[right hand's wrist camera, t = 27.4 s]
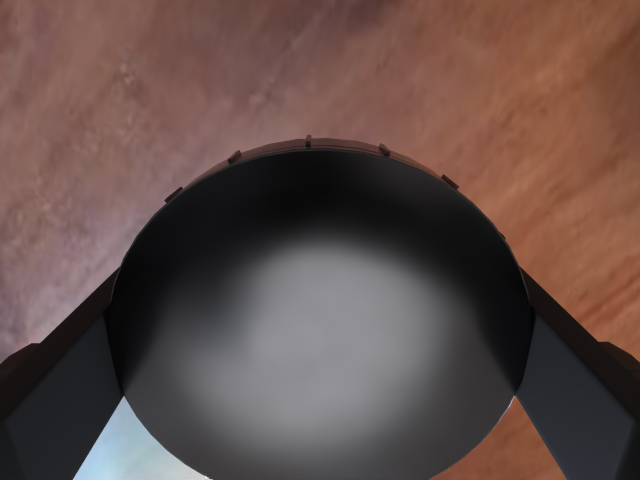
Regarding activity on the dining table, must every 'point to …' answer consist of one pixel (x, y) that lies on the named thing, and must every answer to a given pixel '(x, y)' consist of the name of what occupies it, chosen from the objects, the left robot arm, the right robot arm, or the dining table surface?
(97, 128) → the dining table surface
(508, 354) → the lid
